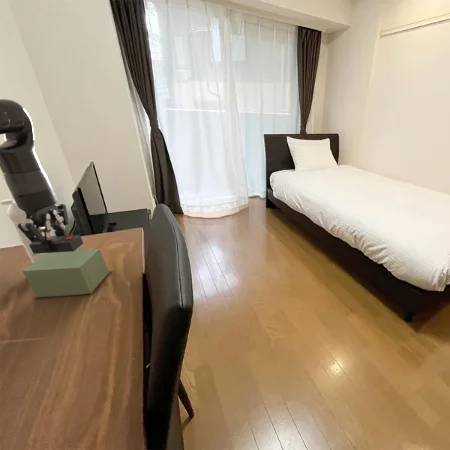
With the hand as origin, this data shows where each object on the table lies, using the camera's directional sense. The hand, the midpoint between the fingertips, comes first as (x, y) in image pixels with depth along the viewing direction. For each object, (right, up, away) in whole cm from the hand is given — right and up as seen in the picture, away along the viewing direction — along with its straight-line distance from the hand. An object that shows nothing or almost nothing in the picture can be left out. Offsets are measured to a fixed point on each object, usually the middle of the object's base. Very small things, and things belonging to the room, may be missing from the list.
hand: (58, 246), depth 75 cm
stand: (0, -12, +6) cm, 13 cm away
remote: (0, 0, 0) cm, 1 cm away
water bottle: (-14, -8, +12) cm, 21 cm away
